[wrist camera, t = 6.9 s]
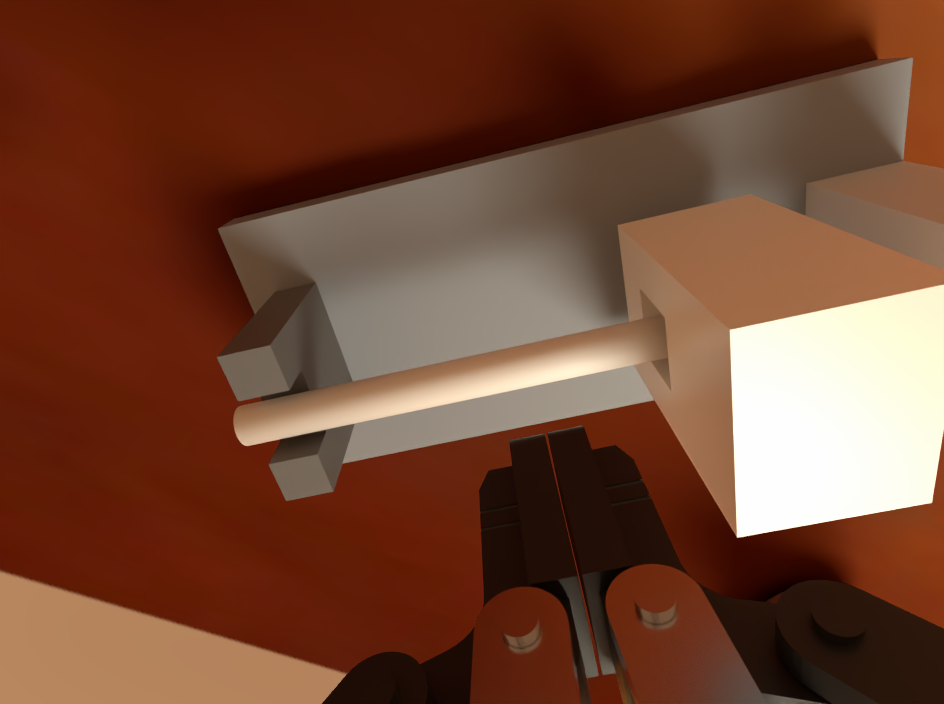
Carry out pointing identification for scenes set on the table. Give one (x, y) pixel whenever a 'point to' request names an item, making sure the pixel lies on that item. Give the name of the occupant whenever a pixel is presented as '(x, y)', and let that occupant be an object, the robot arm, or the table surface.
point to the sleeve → (791, 360)
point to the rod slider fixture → (534, 268)
